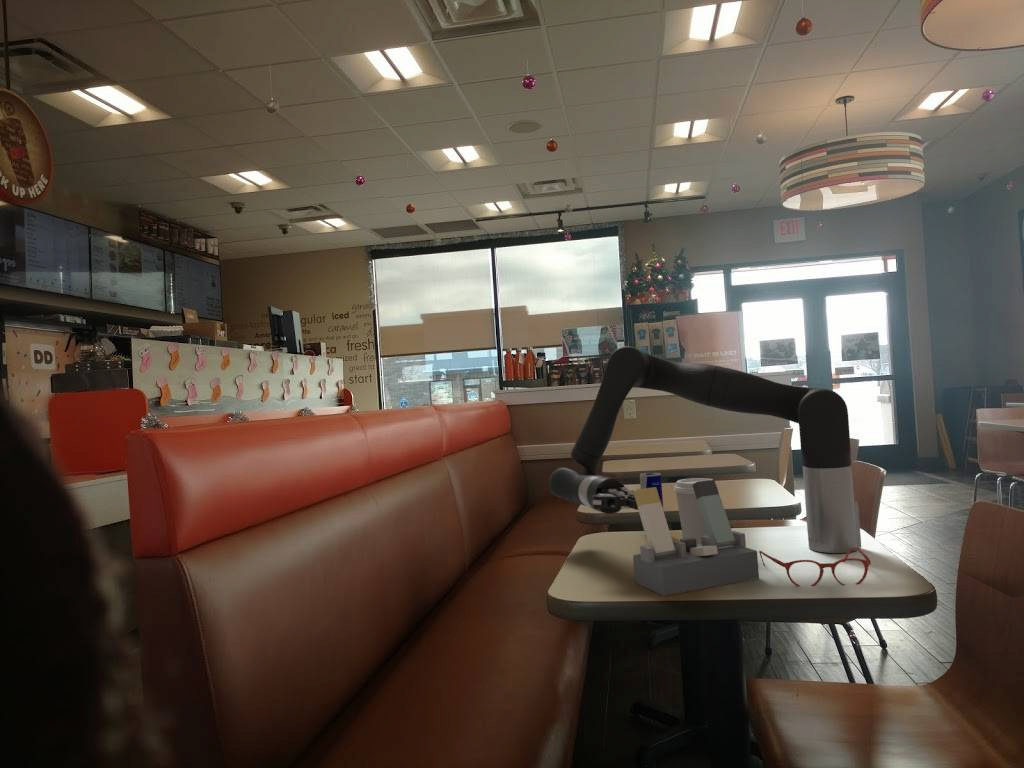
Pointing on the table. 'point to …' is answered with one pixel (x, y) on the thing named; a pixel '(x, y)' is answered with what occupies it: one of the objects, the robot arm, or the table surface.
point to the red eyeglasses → (823, 566)
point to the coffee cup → (690, 509)
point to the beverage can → (652, 483)
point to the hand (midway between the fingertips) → (642, 504)
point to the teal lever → (713, 513)
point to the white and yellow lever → (654, 522)
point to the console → (696, 565)
